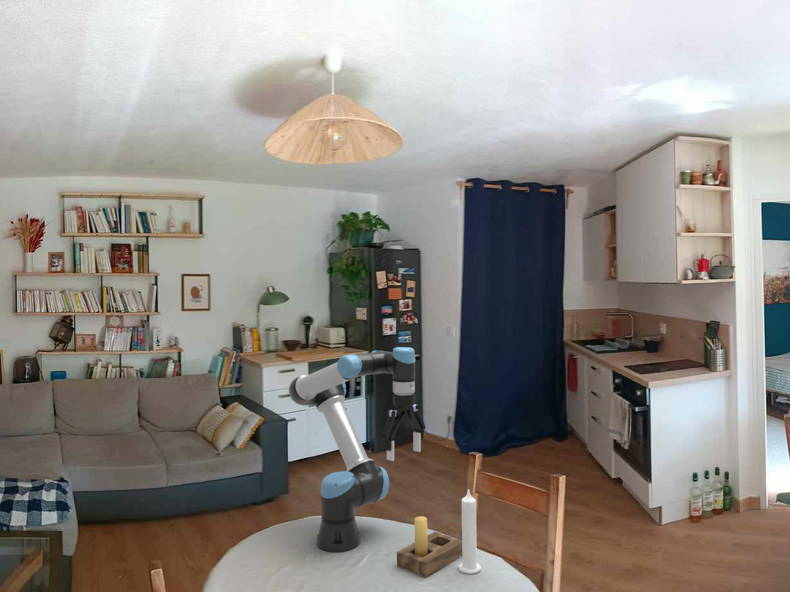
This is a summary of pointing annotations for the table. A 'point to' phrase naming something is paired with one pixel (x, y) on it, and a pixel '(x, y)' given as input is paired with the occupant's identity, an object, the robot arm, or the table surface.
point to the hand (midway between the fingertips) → (404, 455)
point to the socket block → (430, 555)
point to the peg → (421, 536)
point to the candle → (469, 536)
